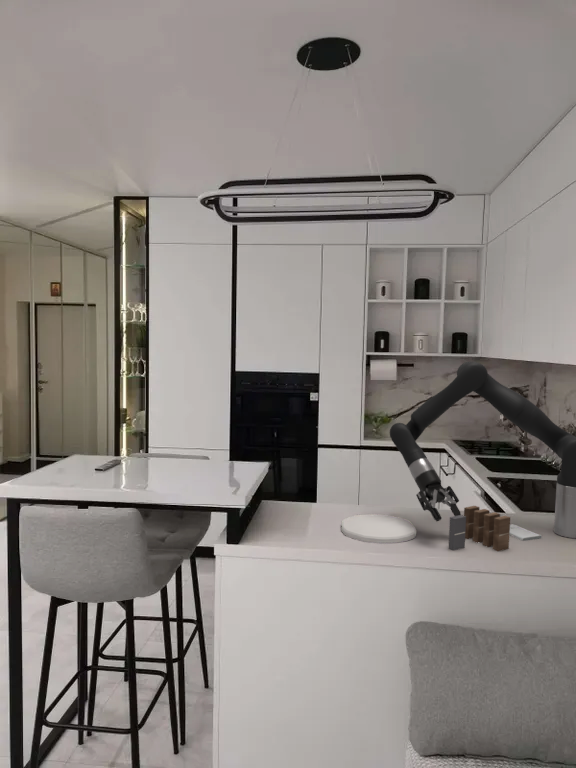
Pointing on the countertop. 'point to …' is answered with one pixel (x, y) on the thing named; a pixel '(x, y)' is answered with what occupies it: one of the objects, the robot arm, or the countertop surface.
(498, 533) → the domino
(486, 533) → the domino
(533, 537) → the external hard drive
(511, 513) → the countertop surface
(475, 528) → the domino
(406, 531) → the decorative plate
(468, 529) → the domino
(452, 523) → the domino
